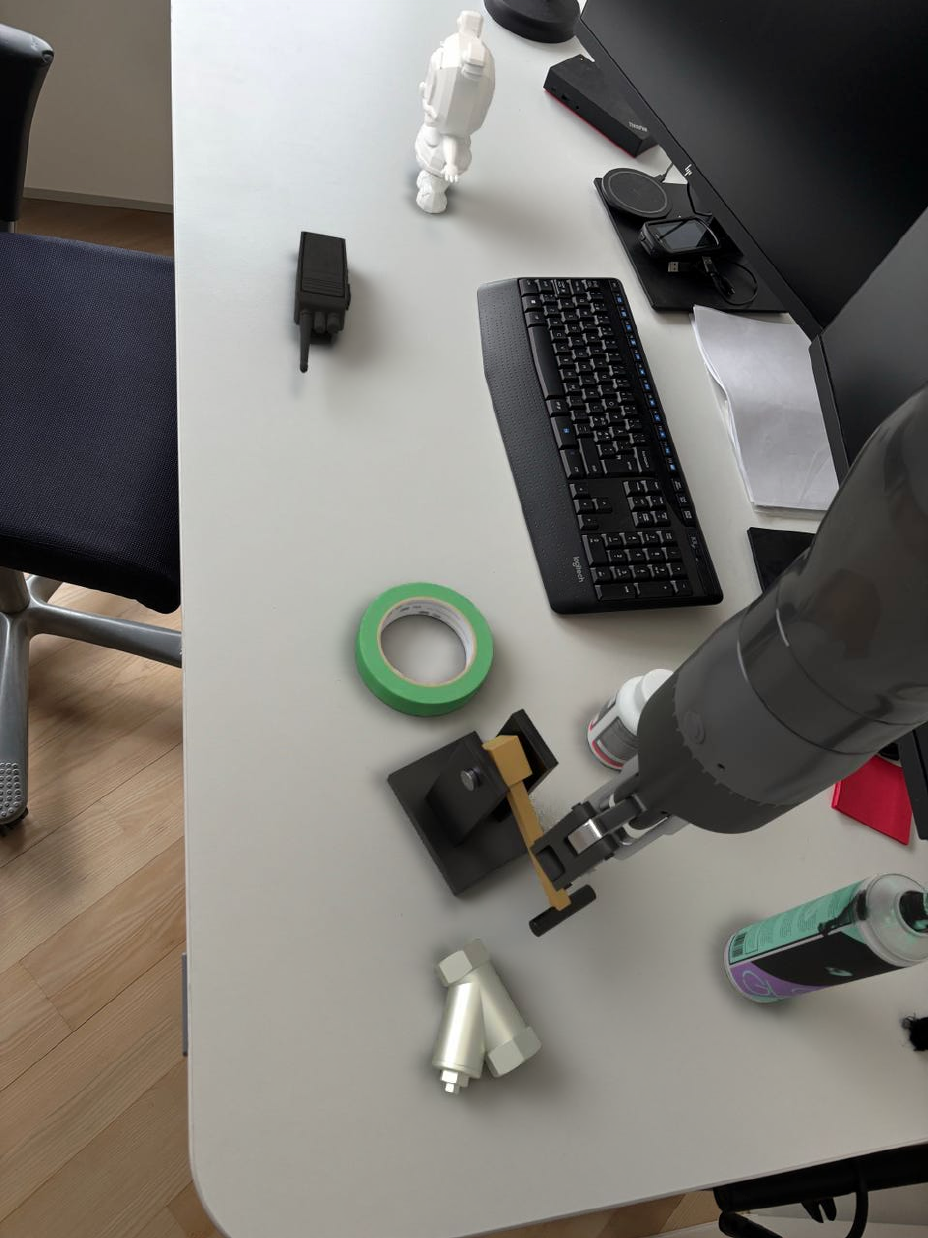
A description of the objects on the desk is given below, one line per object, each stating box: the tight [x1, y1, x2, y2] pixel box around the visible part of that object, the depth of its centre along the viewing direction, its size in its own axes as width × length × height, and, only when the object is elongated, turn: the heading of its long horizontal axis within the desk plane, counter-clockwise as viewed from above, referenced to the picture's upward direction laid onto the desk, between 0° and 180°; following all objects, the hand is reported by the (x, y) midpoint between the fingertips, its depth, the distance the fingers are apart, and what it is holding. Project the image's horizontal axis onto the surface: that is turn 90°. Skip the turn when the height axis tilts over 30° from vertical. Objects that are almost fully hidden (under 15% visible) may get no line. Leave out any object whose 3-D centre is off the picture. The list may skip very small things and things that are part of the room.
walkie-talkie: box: [293, 230, 352, 374], centre depth 89 cm, size 6×6×20 cm
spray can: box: [723, 871, 928, 1004], centre depth 62 cm, size 6×6×20 cm
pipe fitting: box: [431, 938, 542, 1095], centre depth 61 cm, size 8×4×7 cm
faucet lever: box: [482, 735, 598, 938], centre depth 61 cm, size 13×5×2 cm, turn 33°
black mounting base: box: [386, 708, 559, 896], centre depth 65 cm, size 10×8×13 cm
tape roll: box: [354, 582, 494, 717], centre depth 75 cm, size 11×11×3 cm
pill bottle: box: [587, 668, 675, 771], centre depth 73 cm, size 5×5×10 cm
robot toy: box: [414, 9, 496, 214], centre depth 98 cm, size 8×20×19 cm, turn 2°
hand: (613, 831), depth 51 cm, fingers open, 8 cm apart
